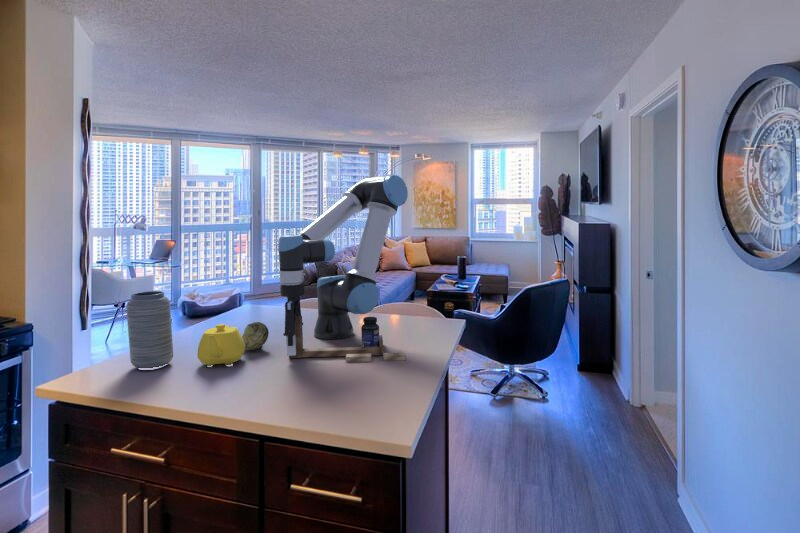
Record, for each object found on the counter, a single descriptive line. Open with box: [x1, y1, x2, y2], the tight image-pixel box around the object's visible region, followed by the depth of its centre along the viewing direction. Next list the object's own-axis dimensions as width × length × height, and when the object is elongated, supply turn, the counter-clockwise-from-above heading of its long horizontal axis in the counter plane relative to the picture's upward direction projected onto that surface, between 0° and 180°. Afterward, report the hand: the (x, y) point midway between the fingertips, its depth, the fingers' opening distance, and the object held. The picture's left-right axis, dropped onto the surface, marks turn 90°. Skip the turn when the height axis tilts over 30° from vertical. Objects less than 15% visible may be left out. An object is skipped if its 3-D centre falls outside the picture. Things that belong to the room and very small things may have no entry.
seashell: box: [241, 321, 270, 351], centre depth 154 cm, size 11×11×10 cm
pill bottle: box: [360, 316, 380, 347], centre depth 152 cm, size 6×6×11 cm
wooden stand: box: [288, 315, 384, 359], centre depth 150 cm, size 31×14×13 cm, turn 94°
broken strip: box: [345, 351, 407, 363], centre depth 141 cm, size 19×3×2 cm, turn 94°
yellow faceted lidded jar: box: [196, 323, 246, 366], centre depth 138 cm, size 13×20×12 cm
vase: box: [125, 290, 174, 369], centre depth 136 cm, size 12×12×23 cm
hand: (294, 350), depth 144 cm, fingers open, 10 cm apart
